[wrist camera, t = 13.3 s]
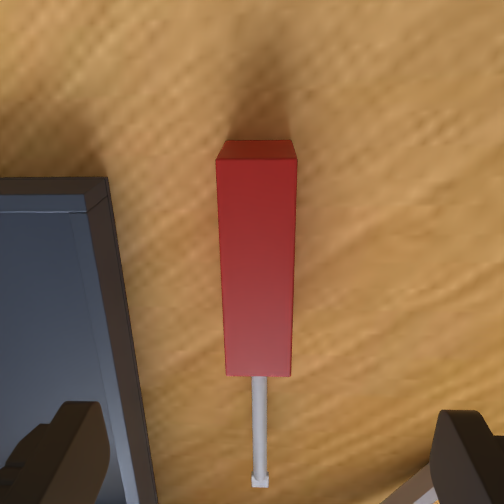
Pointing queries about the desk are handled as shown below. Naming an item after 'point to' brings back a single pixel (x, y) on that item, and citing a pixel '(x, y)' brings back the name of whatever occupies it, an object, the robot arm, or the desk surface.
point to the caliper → (415, 490)
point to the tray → (69, 323)
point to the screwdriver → (257, 269)
